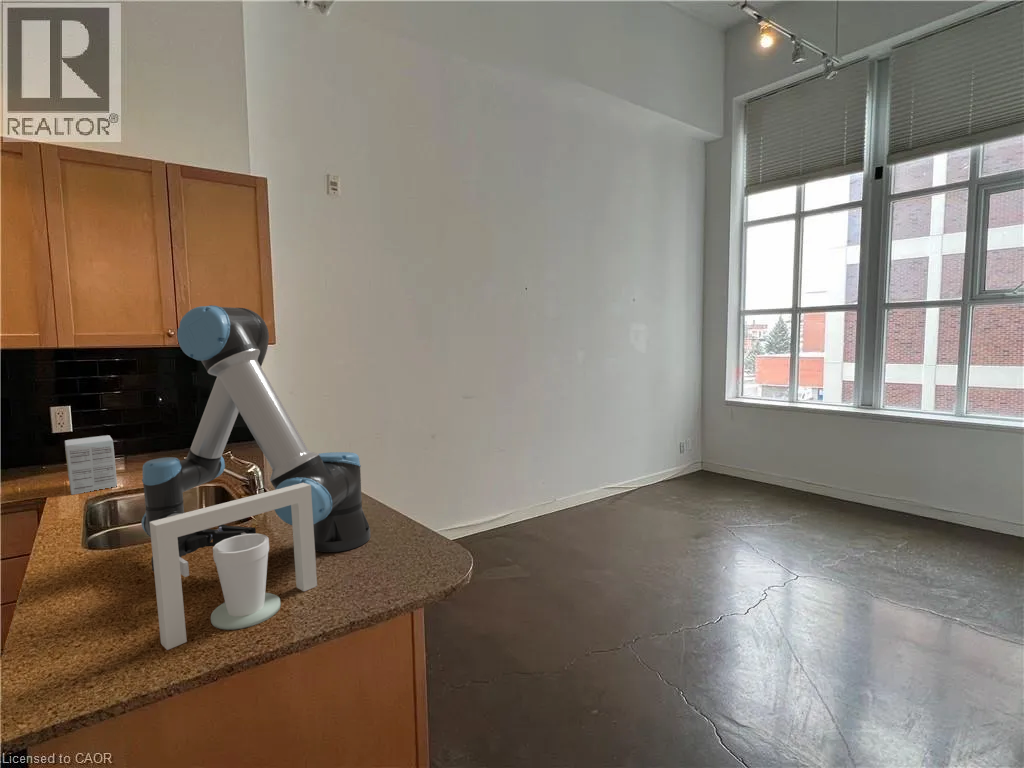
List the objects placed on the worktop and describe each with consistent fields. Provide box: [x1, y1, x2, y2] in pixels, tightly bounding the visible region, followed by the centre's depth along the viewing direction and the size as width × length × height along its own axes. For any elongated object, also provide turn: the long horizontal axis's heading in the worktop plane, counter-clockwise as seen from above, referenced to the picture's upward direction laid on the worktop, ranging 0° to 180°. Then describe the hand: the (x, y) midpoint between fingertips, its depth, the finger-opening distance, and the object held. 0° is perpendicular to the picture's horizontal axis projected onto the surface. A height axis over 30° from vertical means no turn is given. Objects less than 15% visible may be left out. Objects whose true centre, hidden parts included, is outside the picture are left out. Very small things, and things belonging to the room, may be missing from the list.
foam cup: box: [212, 533, 270, 617], centre depth 100 cm, size 10×9×13 cm
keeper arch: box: [150, 483, 318, 651], centre depth 100 cm, size 28×12×22 cm, turn 141°
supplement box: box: [64, 434, 118, 495], centre depth 188 cm, size 13×13×18 cm
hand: (223, 557), depth 105 cm, fingers open, 13 cm apart
